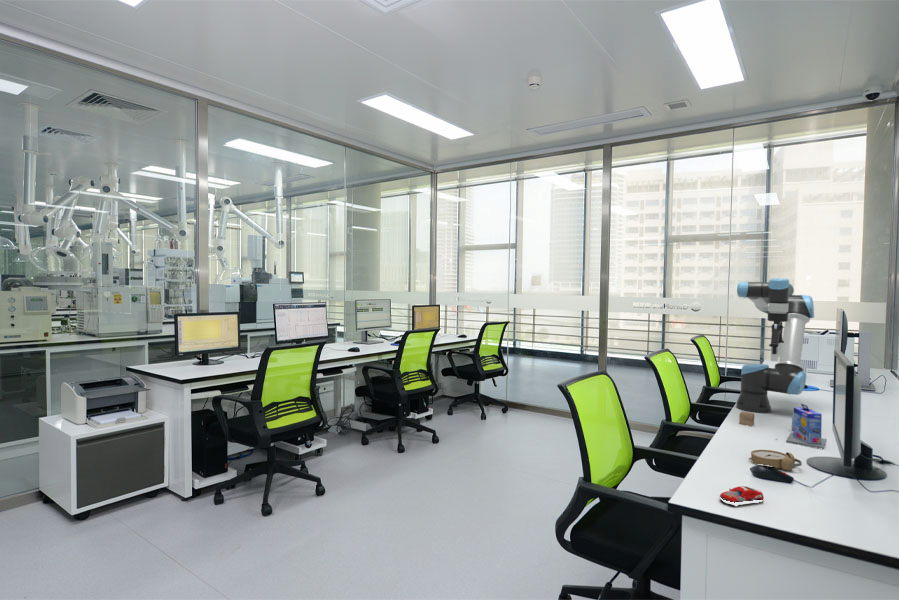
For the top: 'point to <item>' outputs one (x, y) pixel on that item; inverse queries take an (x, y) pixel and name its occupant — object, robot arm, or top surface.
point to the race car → (742, 494)
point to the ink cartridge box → (807, 425)
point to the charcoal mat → (798, 441)
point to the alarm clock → (774, 459)
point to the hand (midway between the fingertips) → (776, 359)
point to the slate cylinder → (792, 421)
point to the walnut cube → (746, 418)
